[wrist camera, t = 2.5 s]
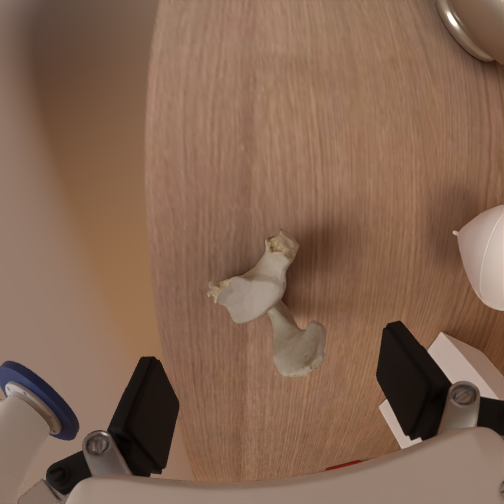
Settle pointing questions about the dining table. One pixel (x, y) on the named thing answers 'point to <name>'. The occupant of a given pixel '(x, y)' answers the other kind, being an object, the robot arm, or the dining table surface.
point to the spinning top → (485, 255)
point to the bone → (273, 307)
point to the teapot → (476, 26)
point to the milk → (454, 376)
